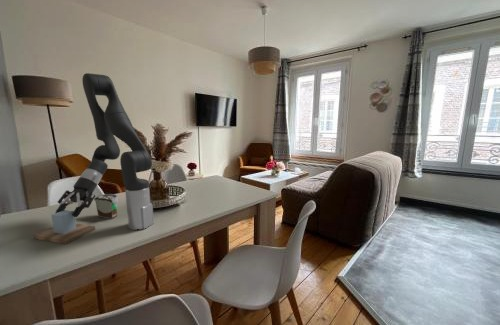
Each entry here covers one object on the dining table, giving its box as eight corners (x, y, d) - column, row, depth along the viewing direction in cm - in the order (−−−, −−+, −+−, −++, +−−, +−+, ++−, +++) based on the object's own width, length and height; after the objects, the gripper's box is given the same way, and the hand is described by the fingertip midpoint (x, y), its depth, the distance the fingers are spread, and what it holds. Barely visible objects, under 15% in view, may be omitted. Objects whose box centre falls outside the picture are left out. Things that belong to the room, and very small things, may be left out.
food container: (125, 214, 109) (124, 195, 108) (114, 219, 104) (112, 199, 102) (107, 211, 113) (105, 192, 112) (96, 215, 108) (93, 196, 106)
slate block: (76, 228, 91) (74, 211, 90) (64, 233, 87) (61, 216, 85) (66, 227, 92) (64, 210, 91) (54, 232, 88) (51, 214, 86)
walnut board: (95, 229, 94) (94, 226, 93) (65, 244, 82) (65, 240, 82) (66, 225, 97) (65, 222, 97) (34, 238, 86) (33, 235, 86)
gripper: (69, 175, 97) (44, 210, 88) (95, 177, 94) (72, 213, 85) (82, 184, 103) (60, 217, 94) (107, 186, 100) (86, 220, 91)
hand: (65, 215), depth 89 cm, fingers open, 8 cm apart
